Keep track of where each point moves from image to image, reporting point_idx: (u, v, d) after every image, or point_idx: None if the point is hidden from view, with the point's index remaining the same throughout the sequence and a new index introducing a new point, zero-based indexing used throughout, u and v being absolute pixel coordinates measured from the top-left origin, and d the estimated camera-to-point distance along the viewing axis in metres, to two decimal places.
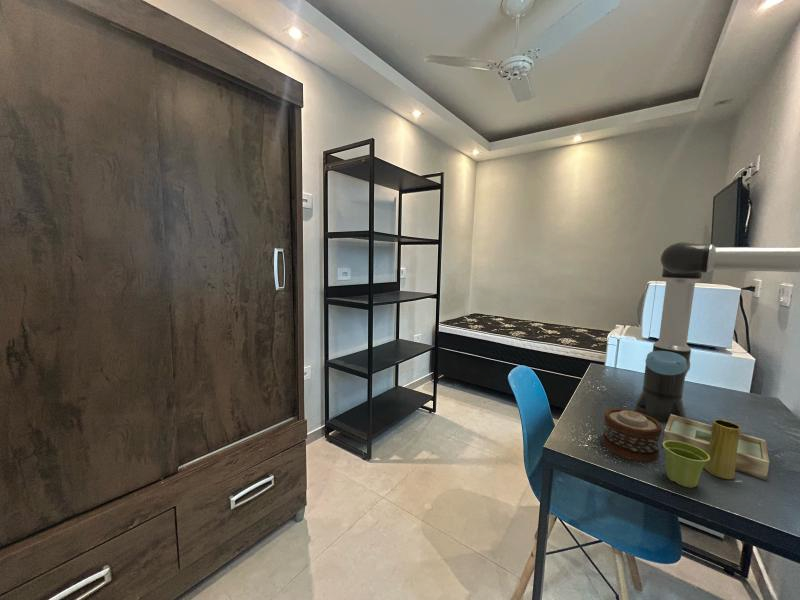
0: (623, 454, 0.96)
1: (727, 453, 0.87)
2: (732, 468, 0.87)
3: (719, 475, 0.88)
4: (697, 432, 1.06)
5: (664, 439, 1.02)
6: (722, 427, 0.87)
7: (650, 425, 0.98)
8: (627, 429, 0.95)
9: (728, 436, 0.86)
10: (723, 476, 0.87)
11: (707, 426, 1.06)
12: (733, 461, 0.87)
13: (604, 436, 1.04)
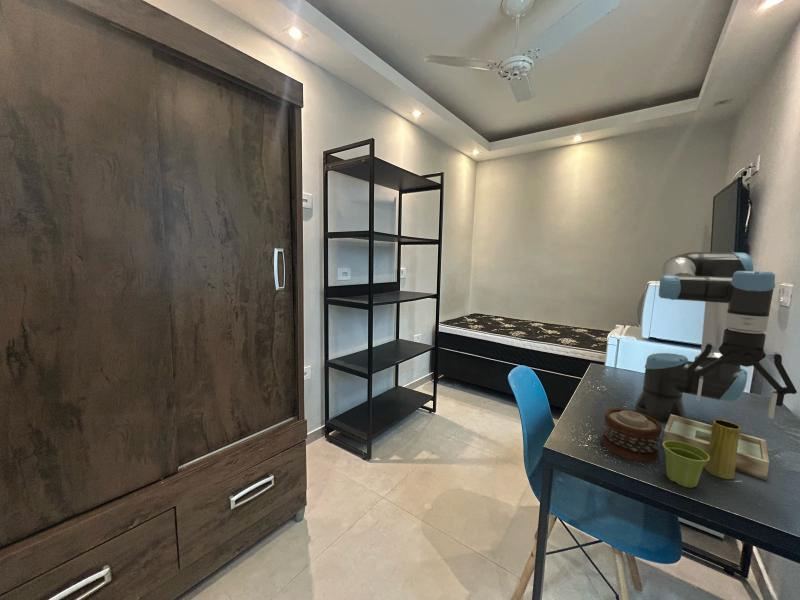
0: (623, 454, 0.96)
1: (727, 453, 0.87)
2: (732, 468, 0.87)
3: (719, 475, 0.88)
4: (697, 432, 1.06)
5: (664, 439, 1.02)
6: (722, 427, 0.87)
7: (650, 425, 0.98)
8: (627, 429, 0.95)
9: (728, 436, 0.86)
10: (723, 476, 0.87)
11: (707, 426, 1.06)
12: (733, 461, 0.87)
13: (604, 436, 1.04)
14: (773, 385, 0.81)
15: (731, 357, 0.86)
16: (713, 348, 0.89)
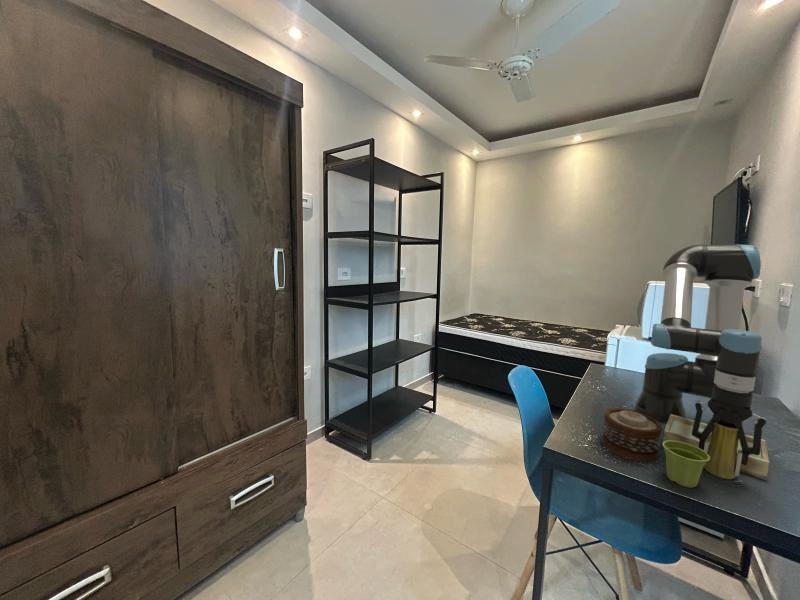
0: (623, 454, 0.96)
1: (727, 453, 0.87)
2: (732, 468, 0.87)
3: (719, 475, 0.88)
4: None
5: (664, 439, 1.02)
6: (722, 427, 0.87)
7: (650, 425, 0.98)
8: (627, 429, 0.95)
9: (728, 436, 0.86)
10: (723, 476, 0.87)
11: None
12: (733, 461, 0.87)
13: (604, 436, 1.04)
14: (742, 444, 0.86)
15: (721, 414, 0.87)
16: (703, 406, 0.91)
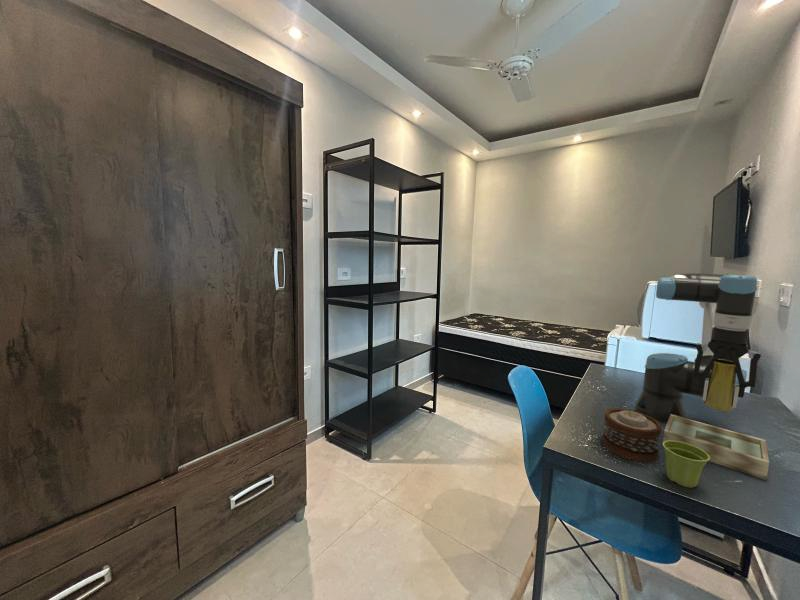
0: (623, 454, 0.96)
1: (725, 388, 0.95)
2: (730, 401, 0.96)
3: (718, 408, 0.96)
4: (697, 432, 1.06)
5: (664, 439, 1.02)
6: (721, 364, 0.95)
7: (650, 425, 0.98)
8: (627, 429, 0.95)
9: (727, 371, 0.95)
10: (722, 409, 0.96)
11: (707, 426, 1.06)
12: (731, 394, 0.95)
13: (604, 436, 1.04)
14: (739, 379, 0.94)
15: (720, 353, 0.96)
16: (703, 347, 0.99)
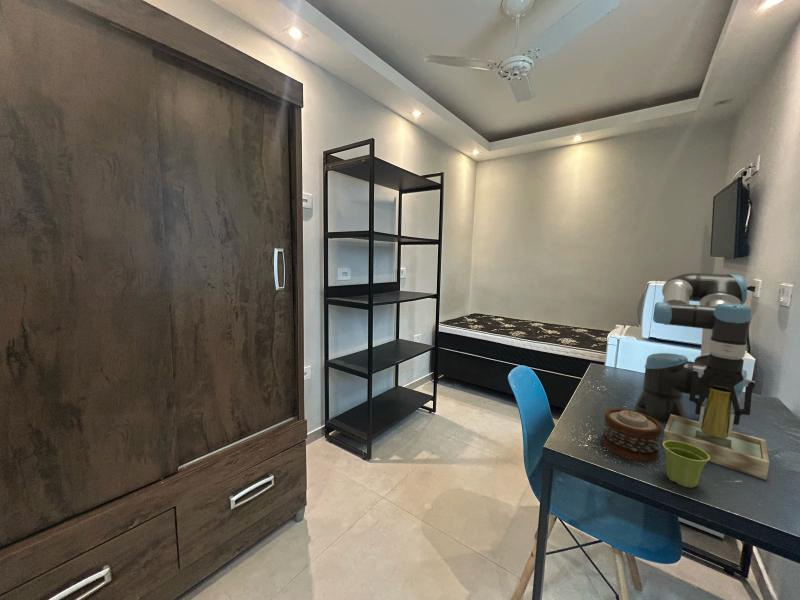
0: (623, 454, 0.96)
1: (721, 414, 0.96)
2: (725, 428, 0.97)
3: (714, 435, 0.97)
4: (697, 432, 1.06)
5: (664, 439, 1.02)
6: (716, 391, 0.97)
7: (650, 425, 0.98)
8: (627, 429, 0.95)
9: (722, 399, 0.96)
10: (717, 435, 0.97)
11: None
12: (726, 421, 0.96)
13: (604, 436, 1.04)
14: (734, 406, 0.95)
15: (715, 380, 0.97)
16: (699, 373, 1.01)
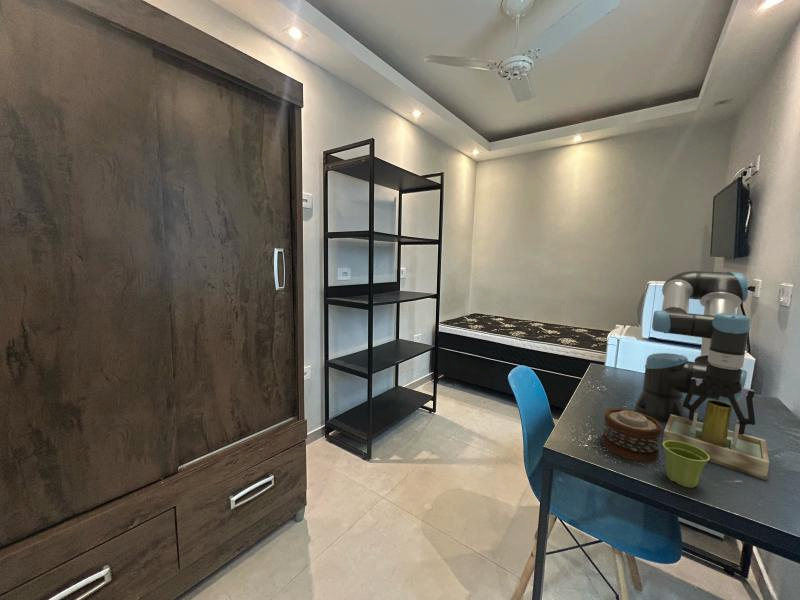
0: (623, 454, 0.96)
1: (719, 429, 0.97)
2: (723, 443, 0.97)
3: None
4: (697, 432, 1.06)
5: (664, 439, 1.02)
6: (715, 406, 0.97)
7: (650, 425, 0.98)
8: (627, 429, 0.95)
9: (721, 414, 0.97)
10: None
11: None
12: (724, 436, 0.97)
13: (604, 436, 1.04)
14: (738, 416, 0.95)
15: (713, 389, 0.98)
16: (697, 381, 1.01)
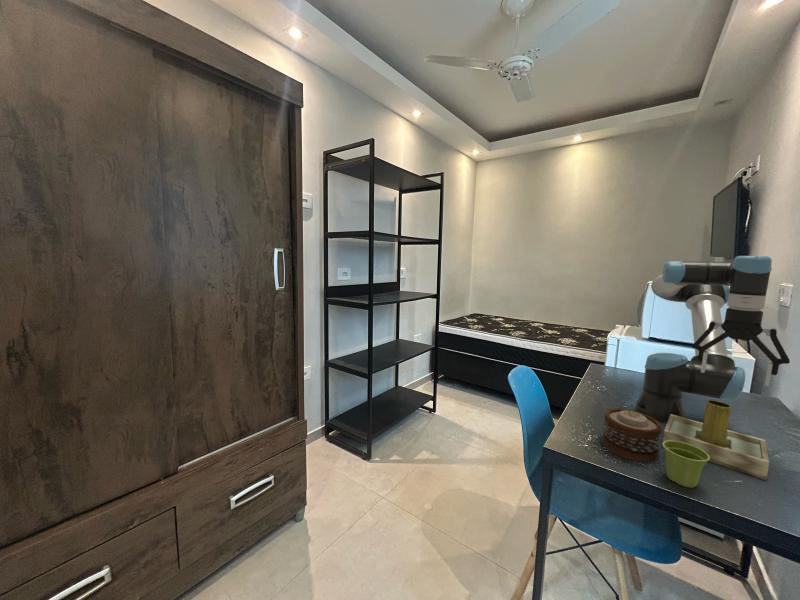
0: (623, 454, 0.96)
1: (718, 429, 0.97)
2: (723, 443, 0.97)
3: None
4: (697, 432, 1.06)
5: (664, 439, 1.02)
6: (714, 406, 0.97)
7: (650, 425, 0.98)
8: (627, 429, 0.95)
9: (720, 414, 0.97)
10: None
11: None
12: (724, 436, 0.97)
13: (604, 436, 1.04)
14: (769, 356, 0.92)
15: (732, 332, 0.97)
16: (716, 325, 1.00)
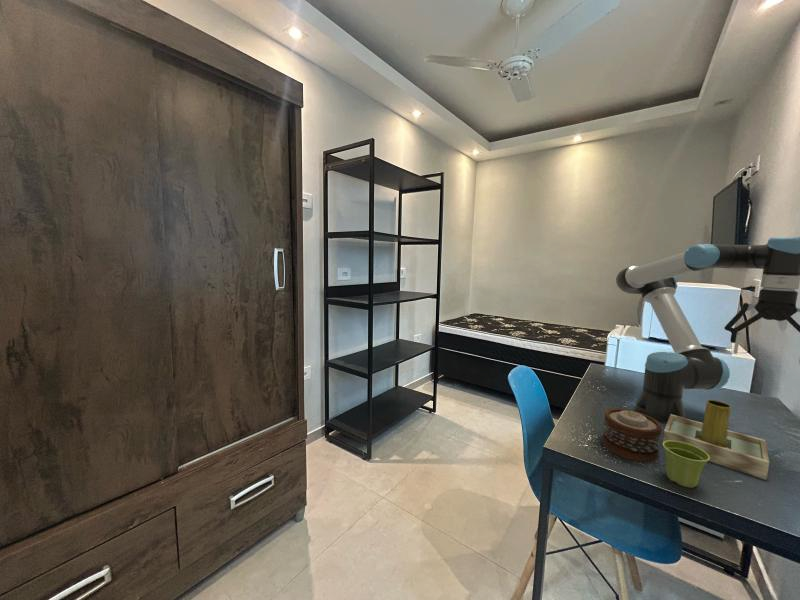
0: (623, 454, 0.96)
1: (718, 429, 0.97)
2: (723, 443, 0.97)
3: None
4: (697, 432, 1.06)
5: (664, 439, 1.02)
6: (714, 406, 0.97)
7: (650, 425, 0.98)
8: (627, 429, 0.95)
9: (720, 414, 0.97)
10: None
11: None
12: (724, 436, 0.97)
13: (604, 436, 1.04)
14: None
15: (766, 313, 0.98)
16: (749, 306, 1.02)
